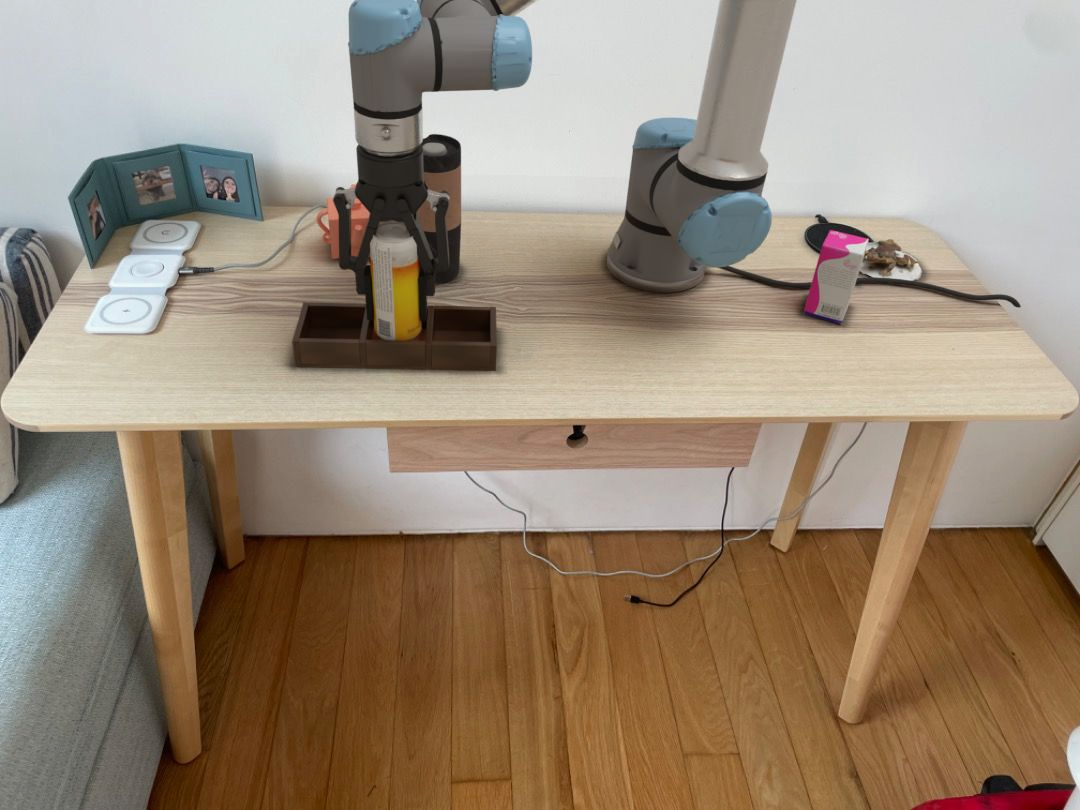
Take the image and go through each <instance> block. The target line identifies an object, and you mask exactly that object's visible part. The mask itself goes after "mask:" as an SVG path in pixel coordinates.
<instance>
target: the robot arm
mask: <svg viewBox="0 0 1080 810" xmlns="http://www.w3.org/2000/svg"><path fill="white" fill-rule="evenodd" d="M537 1H539V0H354V1H353V2H352V3H351V4H350V6H349V8H348V42H347V46H348V53H349V54H348V56H349V65H350V66H349V67H350V77H351V78H350V79H351V80H350V81H351V93H352V102H353V119H354V121H353V122H354V136H355V140H356V143H357V145H356V164H357V178H358V179H357V182H356V183H355V185H356V187H354V188H350V187H349V188H344V187H343V186H338V187H337V188H335V191H334V195H333V197H332V198H333V202H334V205H335V207H336V210H337V212H338V214H339V258H338V266H339V268H340V269H341V270H344V271H345V270H350V271H352V272H353V273H354V276H355V289H356V290H355V291H356V293H357V295H359V296H360V295H361V296H364V297H365V304H366V312H367V320H373V317H374V313H373V298H372V282H371V267H370V264H367V263H368V260H369V258H370V257H369V254H370V242H371V240H372V238H373V235H374V236H375V234H376V231H377V228H378V225H379V222H387V221H392V220H393V221H396V222H404V224H405V226H406V229H407V231H409V234H410V237H412V236H413V239H414V241H415V243H416V244H417V255H418V257H419V260H420V262H421V265H422V266H420V274H419V298H420V321H426V316H427V305H428V297H434V296H435V294H436V284H435V275H436V273H438V272H447V271H448V270H449V246H448V234H447V221H446V213H447V209H448V206H449V193H448V191H445V190H443V191H441V192H440V193H438V192H435V191H432V190H428V187H427V185H426V183H425V181H424V170H423V147H422V145H421V143H422V141H423V139H424V125H423V123H424V122H423V121H424V119H423V118H424V117H423V93H438V92H465V91H467V92H468V91H493V92H498V91H499V90H509V89H514V88H516V89H517V88H521V87H522V86H524V85H525V84H526V83H527V82H528V80H529V79H530V75H531V71H532V66H533V41H532V36H531V32H530V31H531V30H530V28H529V26H528V24H527V21H525V19H524V18H522V17H521V16H517V15H519V14H520V13H522V12H523V11H524V10H526V9H527V8H530V6H532V5H533V4H535V3H536V2H537ZM797 1H798V0H719V3H718V8H717V14H716V17H715V18H716V19H715V22H714V27H713V28H714V29H713V34H712V39H711V43H710V48H709V49H710V50H709V54H708V59H707V66H706V69H705V75H704V80H703V86H702V91H701V97H700V101H699V107H698V112H697V116H696V119H693V118H687V117H659V118H652V119H650V120H647V121H644V122H642V123H641V124H640V125H639V126H638V127H637V129H636V132H635V135H634V141H633V144H632V146H631V148H632V154H631V162H630V169H629V178H628V186H627V193H626V194H627V195H626V203H625V210H624V216H623V219H622V221H621V223H620V225H619V227H618V229H617V231H615V233H614V236H613V237H612V241H611V243H610V245H609V246H608V250H607V255H606V256H607V257H606V266H607V269H608V271H609V272H610V273H611V275H612V276H613V277H614V278H616V279H617V280H619V281H620V282H621V283H623V284H625V285H627V286H630V287H632V288H636V289H638V290H642V291H647V292H653V293H678V292H682V291H686V290H689V289H692V288H694V287H696V286H697V285H699V284H700V283H701V282H702V281H703V279H704V277H705V273H706V267H707V268H717V269H720V270H723V271H726V272H729V273H733V274H735V275H738V276H742V277H745V278H747V279H751V280H755V281H758V282H761V283H764V284H768V285H772V286H775V287H783V288H788V289H789V288H790V289H810V287H811V284H812V281H808V282H791V281H782V280H777V279H773V278H769V277H766V276H762V275H759V274H756V273H753V272H749V271H746V270H742V269H740V268H737V267H733V265H735V264H737V263H740V262H741V261H744V260H745V259H746V258H747V257H748V256H749V255H751V254H753V253H755V252H756V251H757V250H758V249H759V248H760V247H761V246H762V244H763V243H764V241H765V240H766V239H767V237H768V234H769V233H770V231H771V226H772V222H773V216H772V215H773V214H772V211H771V208H770V204H769V202H768V201H767V200H766V199H765V197H763V191H764V186H765V183H766V178H767V174H768V171H769V162H768V160H767V158H766V157H765V156H764V154H763V153H762V151H761V150H762V149H761V148H762V145H763V142H764V141H763V140H764V137H765V132H766V128H767V123H768V119H769V116H770V112H771V108H772V103H773V99H774V95H775V91H776V87H777V83H778V79H779V75H780V70H781V66H782V63H783V59H784V55H785V49H786V46H787V42H788V37H789V34H790V30H791V26H792V21H793V17H794V13H795V9H796V5H797ZM356 198H358V199H359V201H360V202H361V203H362V204H363V205H364V207H365V208H366V209H367V210H368V211H369V212H370V215H369V219H368V222H367V225H366V229H365V232H364V236H363V239H362V242H361V246H360V249H359V253H358V256H357V257H355V256H352V255H351V208H352V207H353V206H354V202H355V199H356ZM426 200H427V201H428V202H429V203H430V208H431V210H432V211H434V212H435V227H436V239H437V250H438V258H436V259H434V258H433V255H432V252H431V250H430V247H429V244H428V242H427V239H426V236H425V234H424V231H423V228H422V226H421V223H420V220H419V216H418V212H417V211H418V209H419V208H420V207H421V206H422V204H423V203H424V202H425V201H426ZM861 283H862V284H863V283H875V284H891V285H892V284H893V285H903V286H909V287H915V288H921V289H925V290H930V291H935V292H937V293H938V292H939V293H942V294H945V295H949V296H951V297H956V298H961V299H965V300H970V301H998V300H999V301H1000V300H1001V301H1006V302H1009V303H1010V304H1011V305H1012V306H1013V307H1015V308H1019V309H1020V308H1021V307H1022V306H1021V304H1020V302H1019V301H1018V299H1016V298H1014V297H1013V296H1011V295H1008V294H1001V293H999V294H998V293H997V294H995V293H994V294H971V293H965V292H961V291H957V290H953V289H949V288H946V287H943V286H939V285H935V284H932V283H926V282H921V281H917V280H914V281H910V280H903V279H893V278H876V277H871V276H869V277H868V276H867V277H865V276H864V277H857V280H856V283H855V284H861Z"/></svg>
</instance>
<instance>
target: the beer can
mask: <svg viewBox="0 0 1080 810" xmlns="http://www.w3.org/2000/svg"><path fill="white" fill-rule="evenodd" d="M369 265H370V267H371V282H372V298H373V313H374V329H375V332H376V334H377V335H378V336H380V338H381V339H382V340H402V341H412V340H413V339H415V338H416V336H417V335H418V334H419V333H420V331H421V321H420V298H419V274H420V260H419V257H418V255H417V244H416V243H415V241H414V239H413V236H412V237H410V234H409V231H407V229H406V226H405V224H404V222H396V221H387V222H381V223H379V225H378V228H377V231H376V234H375V236H374V235H373V238H372V240H371V242H370V257H369Z"/></svg>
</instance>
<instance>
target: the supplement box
mask: <svg viewBox="0 0 1080 810" xmlns="http://www.w3.org/2000/svg"><path fill="white" fill-rule="evenodd" d="M827 233H828V234H827V235H826V238H825V239H824V241H823V244H822V245H821V249H820V251H819V255H818V259H817V262H816V266H815V270H814V273H813V277H812V280H811V282H812V284H811V287H810V288H809V291H808V294H807V298H806V301H805V306H804V309H803V315H804V316H805V315H806V316H809V317H814V318H817V319H820V320H824V321H828V322H831V323H835V324H838V325H842V323H843V322H844V319H845V316H846V315H847V311H848V309H849V305H850V302H851V299H852V296H853V292H854V290H855V286H856V284H857V283H856V280H857V278H859V277H858V276H859V273H860V271H859V270H860V267H861V264H862V261H863V257H864V254H865V251H866V247H867V244H868V243H869V240H870V239H869V238H866V237H861V236H857V235H854V234H849V233H845V232H842V231H841V232H840V231H836V230H832V229H829V231H828V232H827Z"/></svg>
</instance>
